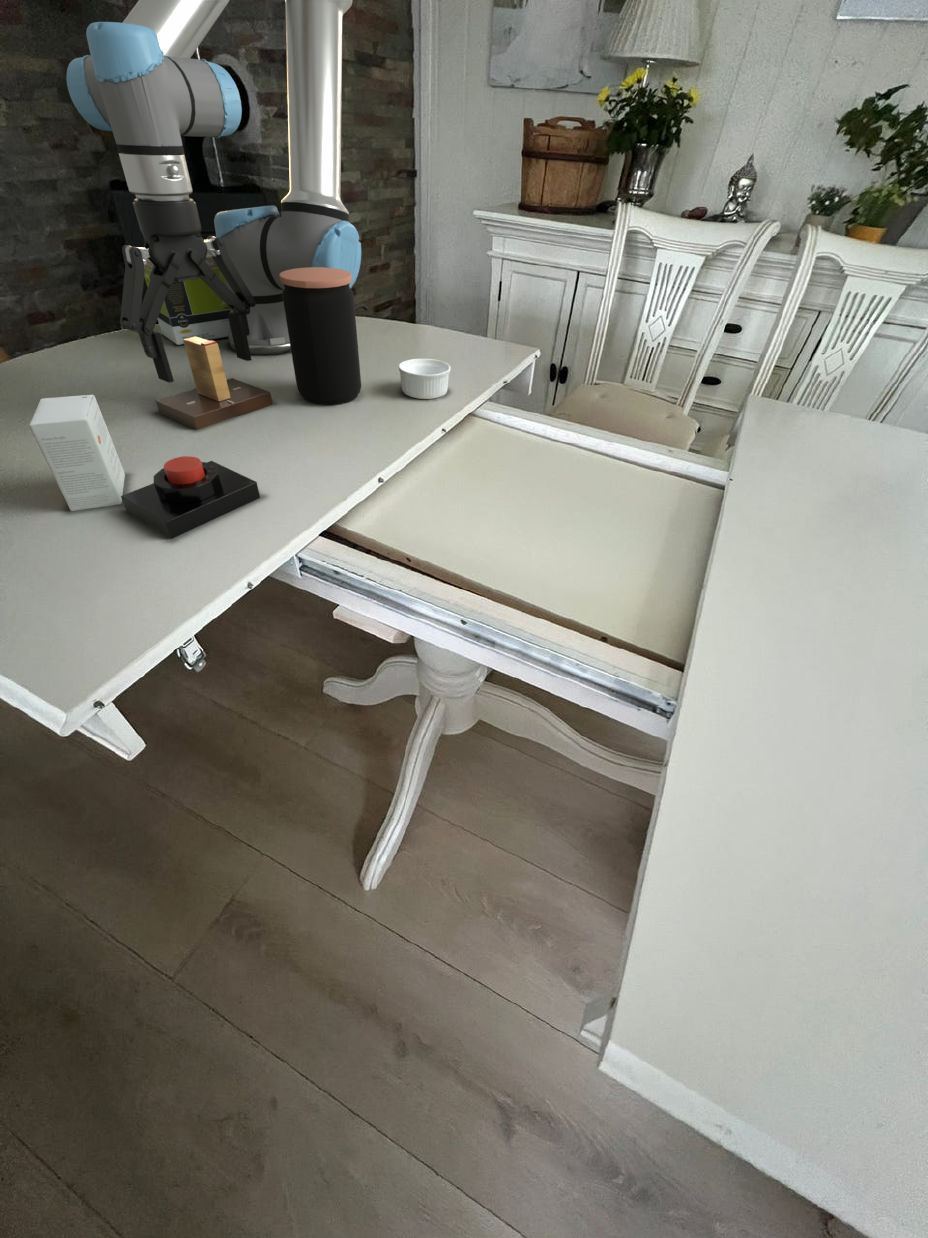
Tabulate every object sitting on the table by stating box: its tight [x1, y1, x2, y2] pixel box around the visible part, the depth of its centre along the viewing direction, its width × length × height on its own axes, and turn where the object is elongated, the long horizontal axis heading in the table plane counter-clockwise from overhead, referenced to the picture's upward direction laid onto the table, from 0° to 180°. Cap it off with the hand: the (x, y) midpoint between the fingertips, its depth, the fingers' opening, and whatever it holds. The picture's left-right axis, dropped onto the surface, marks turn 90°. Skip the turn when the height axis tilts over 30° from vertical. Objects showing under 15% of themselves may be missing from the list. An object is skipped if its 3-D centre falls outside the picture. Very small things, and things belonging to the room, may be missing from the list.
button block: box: [121, 460, 261, 540], centre depth 67 cm, size 12×9×4 cm
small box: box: [28, 394, 126, 512], centre depth 66 cm, size 8×6×10 cm
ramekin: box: [398, 358, 452, 400], centre depth 98 cm, size 9×9×4 cm
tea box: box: [144, 252, 231, 346], centre depth 116 cm, size 15×10×15 cm, turn 129°
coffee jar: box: [279, 267, 362, 406], centre depth 91 cm, size 11×11×18 cm
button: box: [163, 455, 205, 485], centre depth 65 cm, size 4×4×2 cm
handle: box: [183, 336, 231, 402], centre depth 87 cm, size 6×2×8 cm, turn 53°
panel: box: [155, 377, 274, 431], centre depth 90 cm, size 14×10×2 cm
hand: (207, 369), depth 87 cm, fingers open, 13 cm apart
